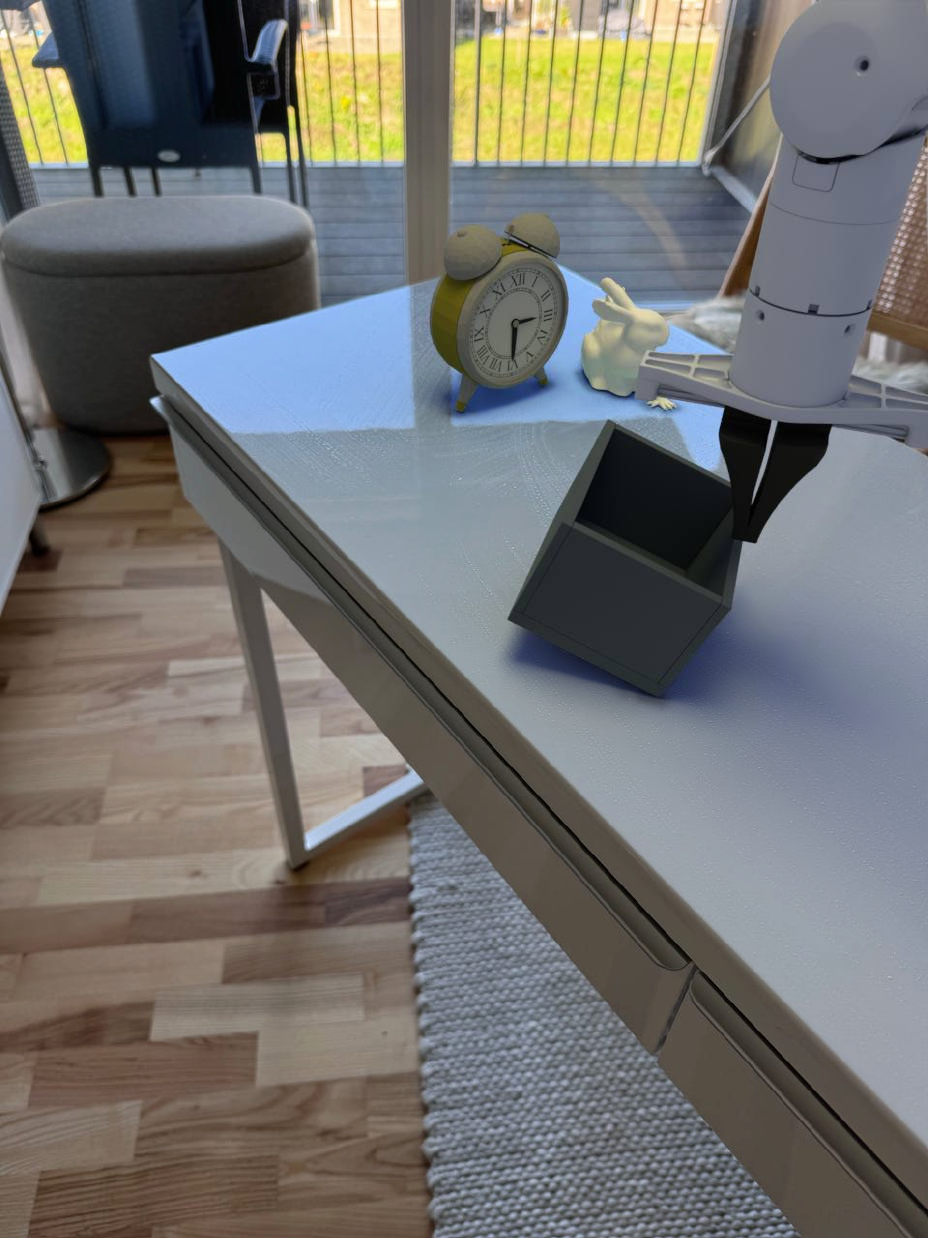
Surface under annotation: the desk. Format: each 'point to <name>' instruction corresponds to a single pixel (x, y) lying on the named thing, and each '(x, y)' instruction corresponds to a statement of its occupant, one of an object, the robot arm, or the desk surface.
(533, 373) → the alarm clock
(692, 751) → the desk surface
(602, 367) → the rabbit figurine
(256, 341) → the desk surface
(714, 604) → the dark grey storage bin
